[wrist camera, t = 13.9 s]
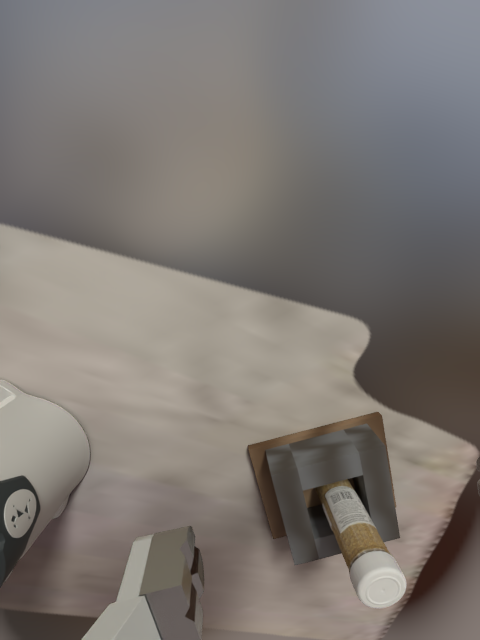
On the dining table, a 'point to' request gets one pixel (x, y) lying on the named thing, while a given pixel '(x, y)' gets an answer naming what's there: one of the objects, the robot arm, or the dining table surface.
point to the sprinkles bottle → (361, 546)
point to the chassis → (324, 482)
